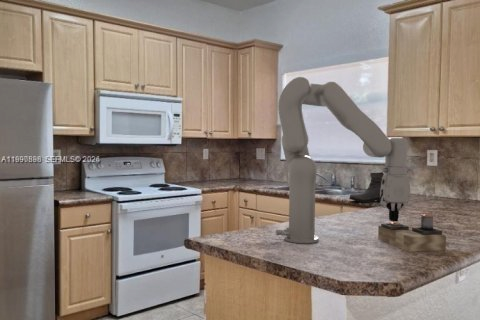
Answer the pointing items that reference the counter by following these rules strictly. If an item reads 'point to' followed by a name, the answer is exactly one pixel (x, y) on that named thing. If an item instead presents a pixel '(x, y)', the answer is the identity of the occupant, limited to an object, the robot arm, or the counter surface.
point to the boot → (370, 190)
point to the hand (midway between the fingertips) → (393, 220)
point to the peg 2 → (427, 222)
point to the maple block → (412, 237)
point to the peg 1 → (394, 224)
